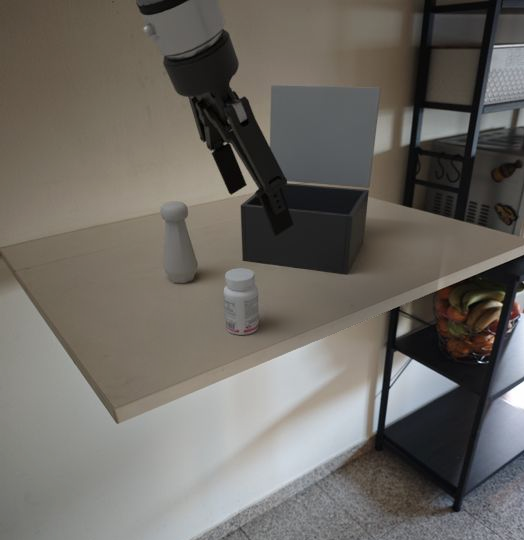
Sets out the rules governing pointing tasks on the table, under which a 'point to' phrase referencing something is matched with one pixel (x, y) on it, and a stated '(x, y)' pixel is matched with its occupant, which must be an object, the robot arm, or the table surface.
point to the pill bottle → (241, 302)
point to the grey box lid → (324, 133)
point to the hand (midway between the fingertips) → (259, 208)
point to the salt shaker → (177, 244)
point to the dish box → (308, 229)
